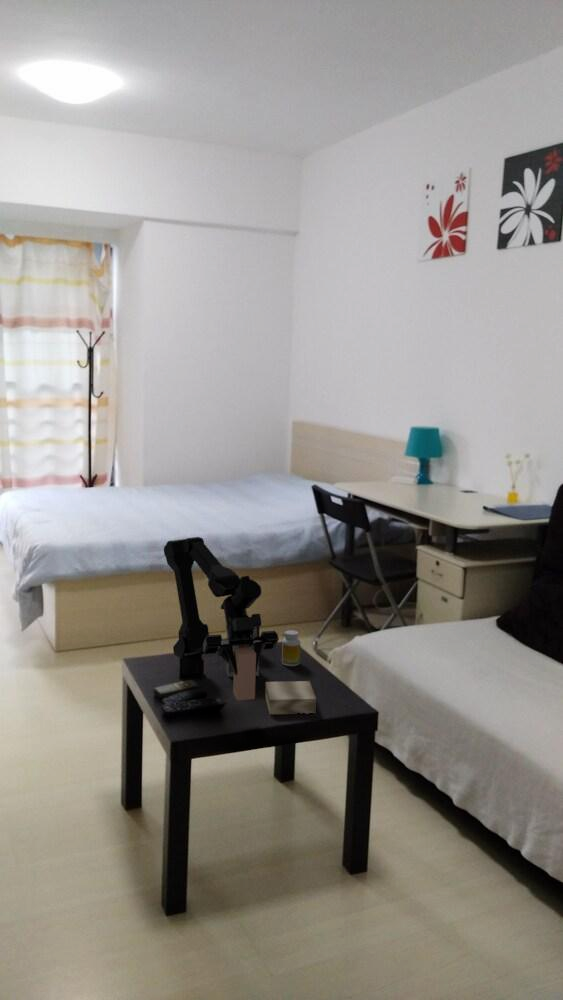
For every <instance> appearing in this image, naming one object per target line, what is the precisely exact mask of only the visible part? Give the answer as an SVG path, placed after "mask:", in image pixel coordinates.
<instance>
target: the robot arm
mask: <svg viewBox="0 0 563 1000" xmlns="http://www.w3.org/2000/svg"><path fill="white" fill-rule="evenodd" d="M163 554H164V556H165V560H166V564H167V565H168V566H169V567H170V569H171V570H172V571H173V573H174V578H175V584H176V585H175V586H176V592H177V596H178V603H179V604H178V605H179V609H180V616H181V625H180V627H179V629H178V640H177V641H176V643H175V644H174V645H173V647H172V648H173V649H172V650H173V655H174V656H176V657H178V658H179V669H178V679H185V680H186V679H202V678H203V675H204V670H205V666H204V665H205V660H204V659H205V658H204V657H203V655H213V654H216V653H217V657H221V658H223V660H224V661H225V663H226V664H227V663H228V665H229V666H230V668H231V669H232V671H233V672H234V674H235V675H237V666H236V662H235V658H234V654H233V646H243V645H252V649H253V650H254V651H255V653H256V671H257V664H258V658H259V659H260V654H261V653H263V651H266V650H267V651H268V650H274V649H276V646H277V644H278V642H279V638H280V637H279V634H278V632H277V631H275V630H268V631H267V630H265V631H263V630H262V631H261V633H260V634H259V637H251V635H253V630H255V627H259V628H260V627H261V626H262V618H261V614H260V613H253V614H251V616H249V615H248V612H247V609H249V608H250V607H251V606H252V605H253V604H254V603H255V602H256V601H257V600H258V599H259V597H260V596H261V595H262V588H261V585H260V584H259V583H257V581H255V580H253V579H251V578H250V576H249V575H244V576H241V577H239V575H238V574H237V573H236V572H235V571H234V570H232V569H231V568H229V567H226V566H223V565H222V564H221V563H220V561H219V560H218V559H217V557H216V556H215V555H214V554H213V552H212V551H211V550H210V549H209V547H208V546H207V545H206V544H205V541H204V539H203V538H202V537H199V536H196V537H187V538H183V539H175V540H174V539H173V540H169V541H166V543H165V545H164V547H163ZM194 563H196V565H197V566H198V567H199V568H200V569H201V571H202V572H203V573H204V575H205V576H206V577H207V579H208V580H207V582H208V583H207V586H208V588H209V590H210V592H211V593H212V595H213V596H214V597H216V598H221V597H222V598H223V597H226V596H227V597H226V598H224V599H223V601H222V604H221V605H220V610H223V612H224V618H225V623H226V624H225V627H226V629H225V630H226V632H227V631H228V638H227V637H223V636H222V635H221V634H210V632H209V626H208V624H207V623H204V622H202V620H201V619H200V614H199V608H198V607H199V606H198V601H197V596H196V589H195V582H194V578H193V577H194V576H193V572H192V571H193V570H192V568H193V565H194ZM222 637H223V638H222Z"/></svg>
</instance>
